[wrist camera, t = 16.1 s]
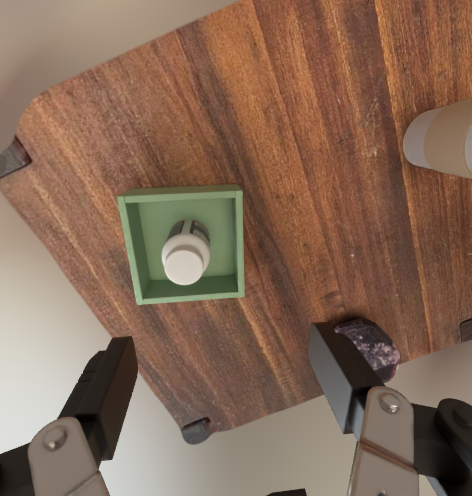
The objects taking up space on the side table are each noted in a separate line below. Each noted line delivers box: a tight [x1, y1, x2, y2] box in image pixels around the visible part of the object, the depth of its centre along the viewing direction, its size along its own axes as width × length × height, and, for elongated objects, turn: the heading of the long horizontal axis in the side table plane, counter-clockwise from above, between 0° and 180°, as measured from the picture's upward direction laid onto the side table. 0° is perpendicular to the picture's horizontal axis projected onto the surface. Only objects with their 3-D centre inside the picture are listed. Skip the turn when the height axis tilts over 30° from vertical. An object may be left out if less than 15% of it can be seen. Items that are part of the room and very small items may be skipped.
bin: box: [117, 184, 245, 305], centre depth 34 cm, size 14×14×6 cm
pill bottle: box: [162, 219, 210, 285], centre depth 32 cm, size 5×5×10 cm
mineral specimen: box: [334, 318, 400, 383], centre depth 41 cm, size 10×10×10 cm
